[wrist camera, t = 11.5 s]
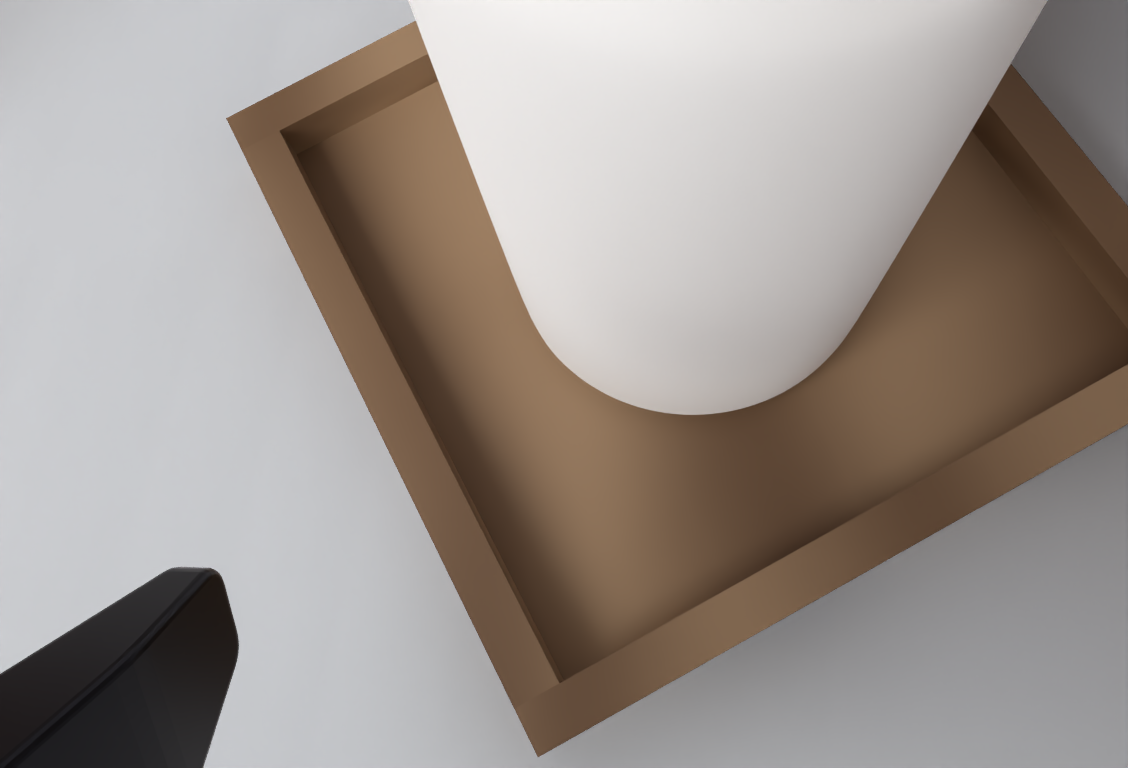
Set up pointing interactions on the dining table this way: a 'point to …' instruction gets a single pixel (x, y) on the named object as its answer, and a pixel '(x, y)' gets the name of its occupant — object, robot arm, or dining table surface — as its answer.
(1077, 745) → the dining table surface
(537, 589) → the walnut tray
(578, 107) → the can
